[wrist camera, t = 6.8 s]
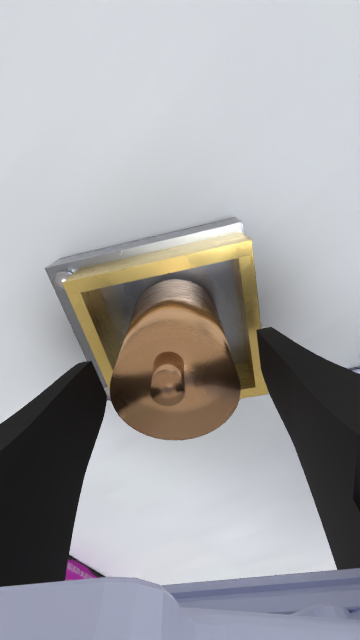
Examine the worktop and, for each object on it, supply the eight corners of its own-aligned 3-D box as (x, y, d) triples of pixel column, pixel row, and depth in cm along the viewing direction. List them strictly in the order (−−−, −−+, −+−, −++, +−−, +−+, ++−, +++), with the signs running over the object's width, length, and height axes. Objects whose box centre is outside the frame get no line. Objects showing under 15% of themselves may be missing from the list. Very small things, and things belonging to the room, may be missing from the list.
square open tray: (252, 355, 18) (270, 399, 15) (112, 380, 20) (95, 427, 16) (234, 217, 15) (253, 229, 11) (60, 258, 16) (22, 282, 12)
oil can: (221, 348, 16) (253, 465, 9) (143, 359, 16) (121, 481, 10) (212, 272, 14) (246, 352, 7) (124, 286, 14) (78, 375, 8)
